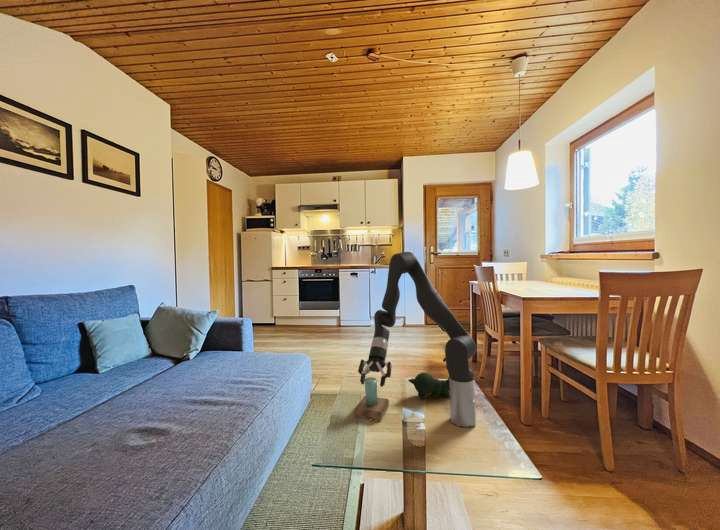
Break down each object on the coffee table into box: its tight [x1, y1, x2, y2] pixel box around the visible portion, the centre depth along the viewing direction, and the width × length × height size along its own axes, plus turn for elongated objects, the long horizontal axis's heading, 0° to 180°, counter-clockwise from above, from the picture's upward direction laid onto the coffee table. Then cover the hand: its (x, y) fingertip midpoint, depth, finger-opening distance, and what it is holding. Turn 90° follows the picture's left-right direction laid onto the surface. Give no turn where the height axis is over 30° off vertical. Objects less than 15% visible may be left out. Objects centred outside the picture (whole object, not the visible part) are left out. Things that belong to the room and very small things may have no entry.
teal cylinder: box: [364, 377, 379, 406], centre depth 130 cm, size 5×5×10 cm
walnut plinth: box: [354, 395, 390, 422], centre depth 130 cm, size 11×11×4 cm
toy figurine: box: [407, 357, 450, 399], centre depth 142 cm, size 9×19×25 cm
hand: (371, 385), depth 130 cm, fingers open, 8 cm apart
